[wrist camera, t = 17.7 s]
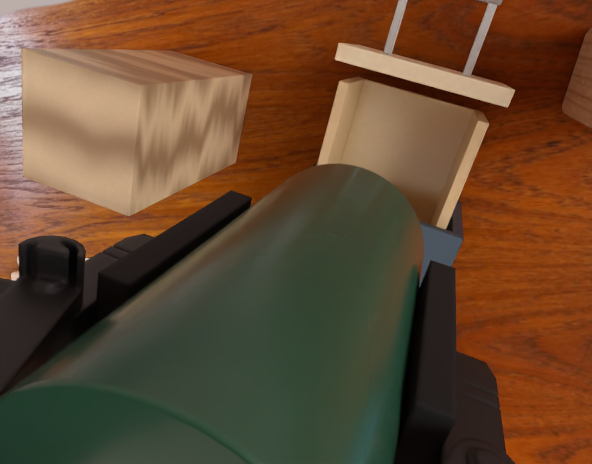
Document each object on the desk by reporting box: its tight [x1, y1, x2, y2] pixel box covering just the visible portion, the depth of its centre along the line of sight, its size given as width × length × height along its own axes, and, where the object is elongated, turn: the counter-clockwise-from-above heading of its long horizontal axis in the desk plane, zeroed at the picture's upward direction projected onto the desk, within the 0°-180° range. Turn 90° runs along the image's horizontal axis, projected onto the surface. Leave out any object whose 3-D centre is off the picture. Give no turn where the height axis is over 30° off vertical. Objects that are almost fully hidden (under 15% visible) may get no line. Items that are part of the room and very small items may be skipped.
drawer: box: [317, 0, 515, 230], centre depth 37 cm, size 21×12×8 cm, turn 166°
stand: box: [22, 48, 252, 216], centre depth 39 cm, size 9×9×18 cm
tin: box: [0, 164, 424, 464], centre depth 12 cm, size 6×6×12 cm
